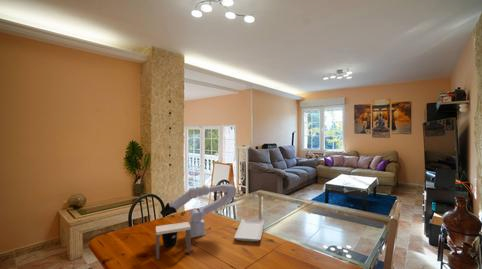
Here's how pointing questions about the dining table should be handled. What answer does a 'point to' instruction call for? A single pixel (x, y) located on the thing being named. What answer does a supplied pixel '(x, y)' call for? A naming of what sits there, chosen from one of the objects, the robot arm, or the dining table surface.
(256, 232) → the tray
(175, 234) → the mug
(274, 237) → the dining table surface
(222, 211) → the dining table surface
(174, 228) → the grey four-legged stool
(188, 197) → the robot arm
